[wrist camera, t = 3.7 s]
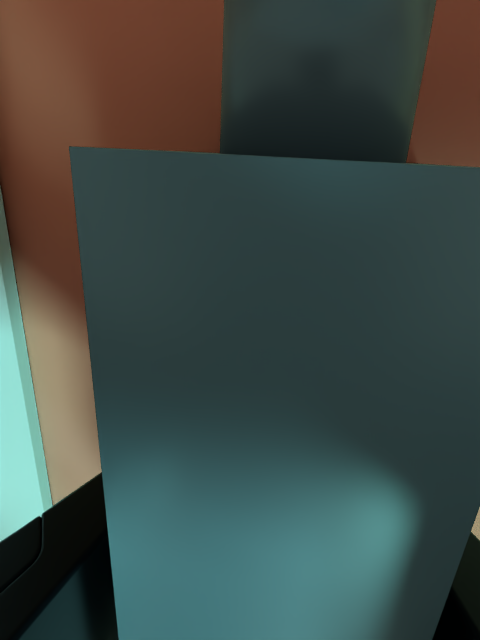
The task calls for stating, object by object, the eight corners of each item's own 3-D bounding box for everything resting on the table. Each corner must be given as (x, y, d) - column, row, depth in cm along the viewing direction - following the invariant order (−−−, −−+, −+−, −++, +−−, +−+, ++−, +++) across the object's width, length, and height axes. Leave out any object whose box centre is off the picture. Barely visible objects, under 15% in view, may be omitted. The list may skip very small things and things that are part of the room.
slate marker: (333, 600, 12) (351, 874, 7) (197, 576, 12) (134, 820, 8) (447, 33, 7) (753, -231, 2) (204, 29, 7) (27, -194, 3)
